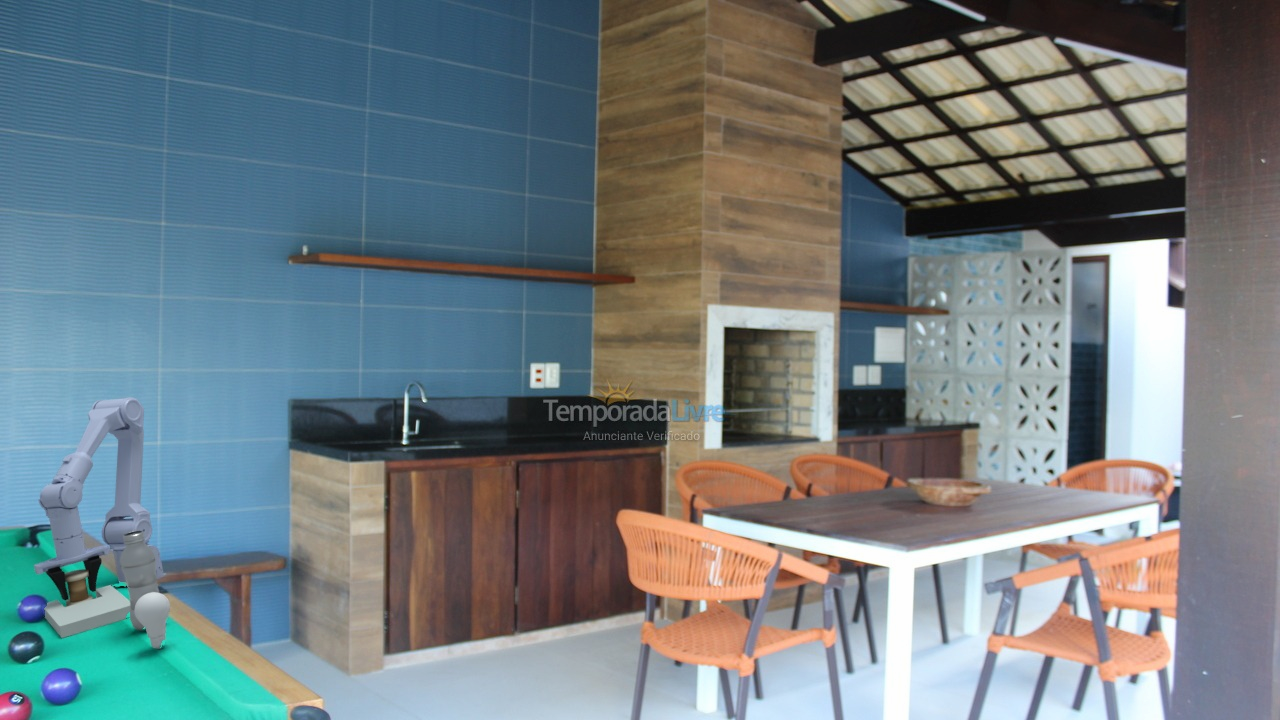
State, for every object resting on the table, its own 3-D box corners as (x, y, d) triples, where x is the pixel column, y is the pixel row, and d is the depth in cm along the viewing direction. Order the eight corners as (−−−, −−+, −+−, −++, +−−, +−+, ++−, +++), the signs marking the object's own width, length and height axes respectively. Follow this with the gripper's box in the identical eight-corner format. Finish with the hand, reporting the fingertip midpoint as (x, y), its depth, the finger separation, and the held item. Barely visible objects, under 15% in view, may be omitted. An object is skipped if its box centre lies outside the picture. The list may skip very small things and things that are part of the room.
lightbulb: (135, 653, 188) (124, 598, 187) (163, 640, 193) (153, 586, 192) (156, 656, 185) (145, 600, 184) (184, 643, 191) (174, 588, 189)
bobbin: (98, 598, 223) (93, 569, 222) (82, 607, 217) (77, 577, 217) (77, 599, 223) (72, 569, 222) (61, 608, 218) (56, 577, 217)
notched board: (136, 615, 211) (133, 604, 211) (61, 638, 202) (59, 626, 202) (112, 595, 228) (110, 584, 228) (43, 615, 219) (40, 604, 219)
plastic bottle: (154, 633, 198) (136, 537, 196) (125, 634, 200) (107, 539, 197) (175, 621, 204) (158, 527, 202) (147, 622, 206) (129, 529, 203)
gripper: (97, 524, 226) (107, 581, 228) (25, 543, 216) (37, 603, 218) (107, 528, 221) (118, 586, 223) (35, 547, 211) (47, 608, 213)
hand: (79, 595), depth 220 cm, fingers closed on bobbin, 5 cm apart
